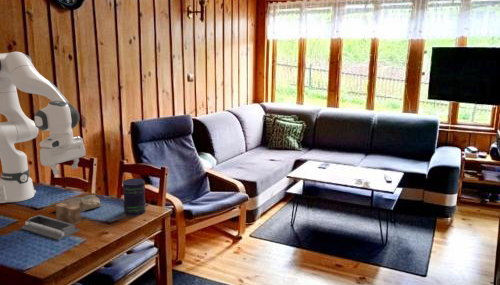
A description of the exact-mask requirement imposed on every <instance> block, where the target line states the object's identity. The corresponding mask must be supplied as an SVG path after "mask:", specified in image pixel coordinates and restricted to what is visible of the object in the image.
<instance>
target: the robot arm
mask: <svg viewBox="0 0 500 285" xmlns="http://www.w3.org/2000/svg"><path fill="white" fill-rule="evenodd" d="M18 90H19V91H21V92H22V93H23V92H24V93H27V94H34V95H39V96H42V97H45V98H47V99H49V100H50V101H49V102H48V103H47V106H45V107H43V108H40V109H38V110H37V111H36V112H35V113H34V116H33V120H32V119H31V118H29V117H28V116H27V115H26V114H25V112H24V111H23V110H22V107H21V105H20V100H19V95H18V92H17V91H18ZM0 115H3V116H5V118H6V120H7V121H4V122H3V121H1V122H0V163H1V169H2V171H0V204H6V203H18V202H24V201H27V200H29V199H32V198H33V197H35V194H36V193H37V191H36V189H35V188H34V184H33V183H34V182H33V179H32V178H31V177H30V169H29V167H28V166H29V165H28V156H27V154H26V153H25V152H24V151H22V150H19V149H17V148H16V147H15V144H17V143H23V142H24V143H25V142H28V141H31V140H33V139H34V140H35V139H36V138H37V136H38V135H39V130H40V131H43V132H49V136H48V137H46V138H45V139H43V140H42V141H40V142H39V146H40V150H39V162H40V164H41V165H42V166H44V167H50V169H51V170H52V173H53V175H54V176H56V175H59V174H60V169H57V168H56V167H57V164H61V163H65V162H69V161H73V164H71V169H72V170H76V169H78V164H79V162H80V159H81V158H83V157H85V156H86V152H87V151H86V148H85V145H84V139H83V137H81V136H80V135H79V136H75V137H74V131H73V129H74V128H75V127H76V126H77V125H78V124H79V122H80V119H81V118H80V113H79V111H78V109H76V107H74V106H73V105H72V104H71V103H70V102H69V101H68V99H67V98H66V97H65V95H63V94H62V92H61V91H60V89H59V88H57V86H56V85H55V84H54V83H53V82H52V81H51V80H50V79H47V78H45V77H44V76H43V75H42V74H41V73H40V72H39V71H38V70H37V69H36V67H35V65H34V62H33V60H32V58H31V57H30V55H28V54H25V53H23V52H20V51H12V52H4V53H0Z"/></svg>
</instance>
